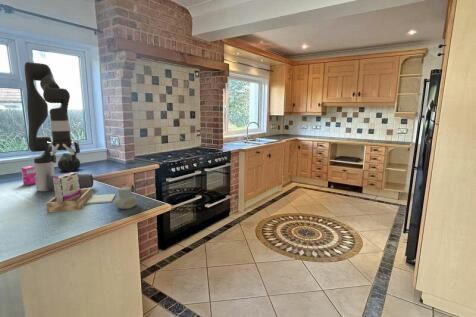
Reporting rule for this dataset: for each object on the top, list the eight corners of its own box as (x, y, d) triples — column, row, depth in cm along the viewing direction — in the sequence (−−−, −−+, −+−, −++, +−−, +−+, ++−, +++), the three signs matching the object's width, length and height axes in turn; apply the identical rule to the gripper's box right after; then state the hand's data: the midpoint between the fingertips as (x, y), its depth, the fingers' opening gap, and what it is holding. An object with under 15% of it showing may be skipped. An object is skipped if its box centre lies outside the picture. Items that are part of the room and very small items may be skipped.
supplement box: (22, 184, 173) (20, 167, 171) (33, 182, 178) (30, 165, 176) (27, 185, 170) (25, 168, 168) (37, 183, 176) (35, 166, 173)
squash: (84, 163, 213) (76, 149, 216) (65, 167, 201) (56, 152, 204) (79, 173, 221) (71, 159, 224) (60, 177, 209) (52, 162, 211)
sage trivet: (86, 204, 138) (86, 202, 138) (92, 196, 150) (92, 195, 150) (111, 202, 141) (111, 200, 141) (115, 195, 153) (115, 193, 153)
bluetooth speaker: (47, 194, 154) (45, 177, 152) (53, 189, 162) (51, 173, 160) (90, 191, 160) (89, 175, 158) (94, 186, 169) (92, 171, 167)
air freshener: (132, 202, 141) (131, 184, 139) (140, 206, 136) (139, 187, 134) (111, 208, 133) (110, 189, 131) (120, 212, 128) (118, 192, 126)
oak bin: (47, 212, 127) (46, 203, 126) (64, 197, 148) (63, 190, 147) (79, 209, 131) (78, 201, 130) (91, 195, 151) (91, 188, 151)
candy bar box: (74, 201, 142) (70, 171, 139) (81, 202, 141) (78, 172, 138) (56, 208, 132) (52, 177, 129) (64, 209, 131) (60, 177, 128)
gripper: (40, 130, 124) (44, 164, 127) (74, 130, 128) (77, 163, 130) (47, 129, 131) (51, 161, 134) (79, 129, 135) (82, 160, 138)
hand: (64, 162), depth 132 cm, fingers open, 8 cm apart
